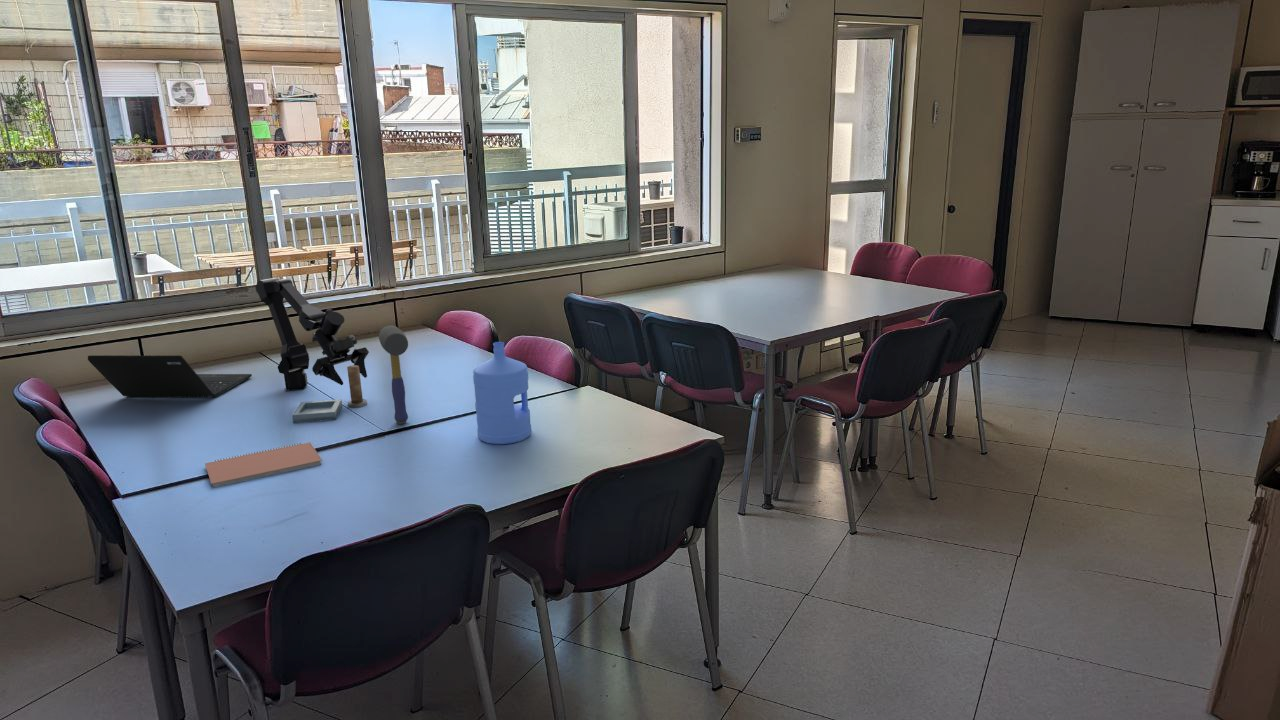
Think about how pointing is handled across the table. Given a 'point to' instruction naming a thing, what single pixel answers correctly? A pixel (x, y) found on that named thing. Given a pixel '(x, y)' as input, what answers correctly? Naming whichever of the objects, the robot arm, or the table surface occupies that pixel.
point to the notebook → (262, 464)
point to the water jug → (501, 399)
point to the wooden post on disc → (355, 387)
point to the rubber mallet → (396, 367)
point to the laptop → (161, 376)
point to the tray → (317, 410)
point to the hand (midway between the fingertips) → (354, 380)
